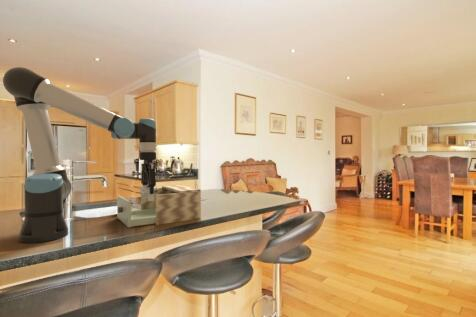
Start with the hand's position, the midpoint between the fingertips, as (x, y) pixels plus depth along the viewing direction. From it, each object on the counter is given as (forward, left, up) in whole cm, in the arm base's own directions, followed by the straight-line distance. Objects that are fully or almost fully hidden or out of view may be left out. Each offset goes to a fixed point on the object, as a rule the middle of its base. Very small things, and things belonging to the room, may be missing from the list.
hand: (148, 199), depth 129 cm
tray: (0, 0, -9) cm, 9 cm away
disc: (0, 0, +4) cm, 4 cm away
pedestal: (-6, +21, -9) cm, 24 cm away
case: (+10, 0, -9) cm, 14 cm away
